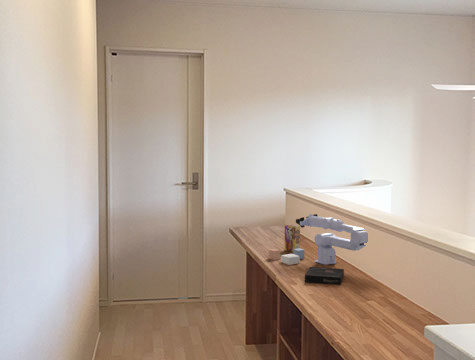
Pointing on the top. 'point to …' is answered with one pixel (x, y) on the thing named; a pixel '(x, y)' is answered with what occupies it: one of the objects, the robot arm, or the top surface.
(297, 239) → the candy box
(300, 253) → the slate cube
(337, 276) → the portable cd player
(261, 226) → the top surface
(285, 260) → the white block
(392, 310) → the top surface
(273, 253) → the terracotta block
